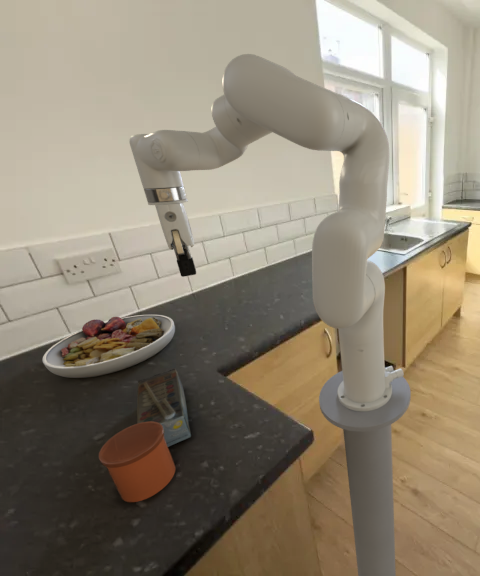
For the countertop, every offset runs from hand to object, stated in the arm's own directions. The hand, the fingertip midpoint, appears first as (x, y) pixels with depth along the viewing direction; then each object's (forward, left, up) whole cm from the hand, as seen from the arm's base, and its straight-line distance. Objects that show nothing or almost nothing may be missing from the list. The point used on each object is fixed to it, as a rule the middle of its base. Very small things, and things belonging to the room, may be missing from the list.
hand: (189, 274), depth 77 cm
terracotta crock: (+12, +32, -27) cm, 43 cm away
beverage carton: (+10, +16, -27) cm, 33 cm away
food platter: (+25, -23, -27) cm, 43 cm away
